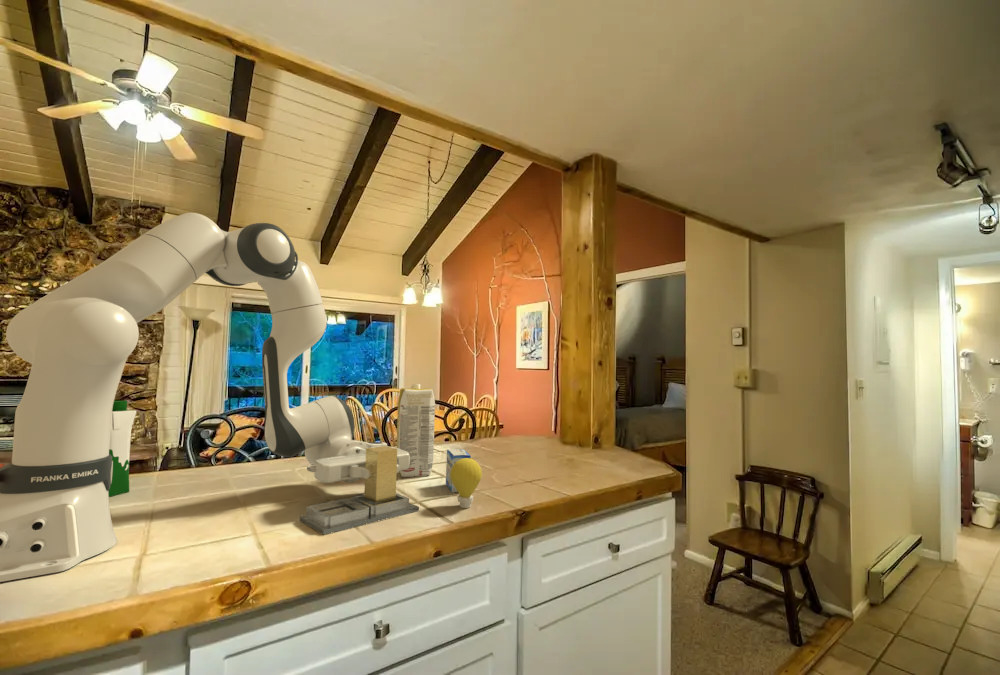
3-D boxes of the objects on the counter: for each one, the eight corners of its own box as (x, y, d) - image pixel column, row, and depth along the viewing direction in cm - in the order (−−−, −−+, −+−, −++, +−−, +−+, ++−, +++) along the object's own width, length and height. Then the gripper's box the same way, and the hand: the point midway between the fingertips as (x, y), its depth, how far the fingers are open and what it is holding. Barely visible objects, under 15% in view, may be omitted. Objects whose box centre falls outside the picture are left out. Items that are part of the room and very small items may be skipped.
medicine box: (445, 484, 116) (446, 449, 117) (463, 483, 118) (463, 448, 118) (451, 493, 109) (452, 455, 109) (470, 492, 110) (471, 454, 111)
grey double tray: (323, 535, 81) (324, 519, 82) (299, 520, 88) (300, 506, 89) (418, 510, 96) (419, 497, 96) (391, 499, 103) (392, 487, 103)
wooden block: (375, 503, 92) (377, 451, 92) (364, 498, 95) (365, 448, 95) (395, 499, 95) (397, 449, 95) (383, 494, 98) (385, 445, 99)
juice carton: (428, 469, 131) (430, 383, 132) (434, 476, 124) (437, 385, 125) (394, 471, 128) (397, 383, 129) (398, 478, 121) (401, 384, 122)
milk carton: (136, 491, 105) (141, 401, 106) (93, 502, 96) (99, 404, 97) (106, 487, 107) (111, 399, 108) (61, 498, 98) (67, 402, 99)
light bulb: (476, 512, 95) (477, 462, 96) (445, 509, 97) (446, 460, 97) (484, 502, 102) (485, 456, 102) (454, 500, 103) (455, 454, 104)
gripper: (303, 451, 97) (334, 463, 87) (389, 441, 112) (424, 450, 102) (302, 482, 97) (333, 497, 87) (388, 468, 111) (423, 479, 102)
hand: (383, 471), depth 95 cm, fingers closed on wooden block, 4 cm apart
